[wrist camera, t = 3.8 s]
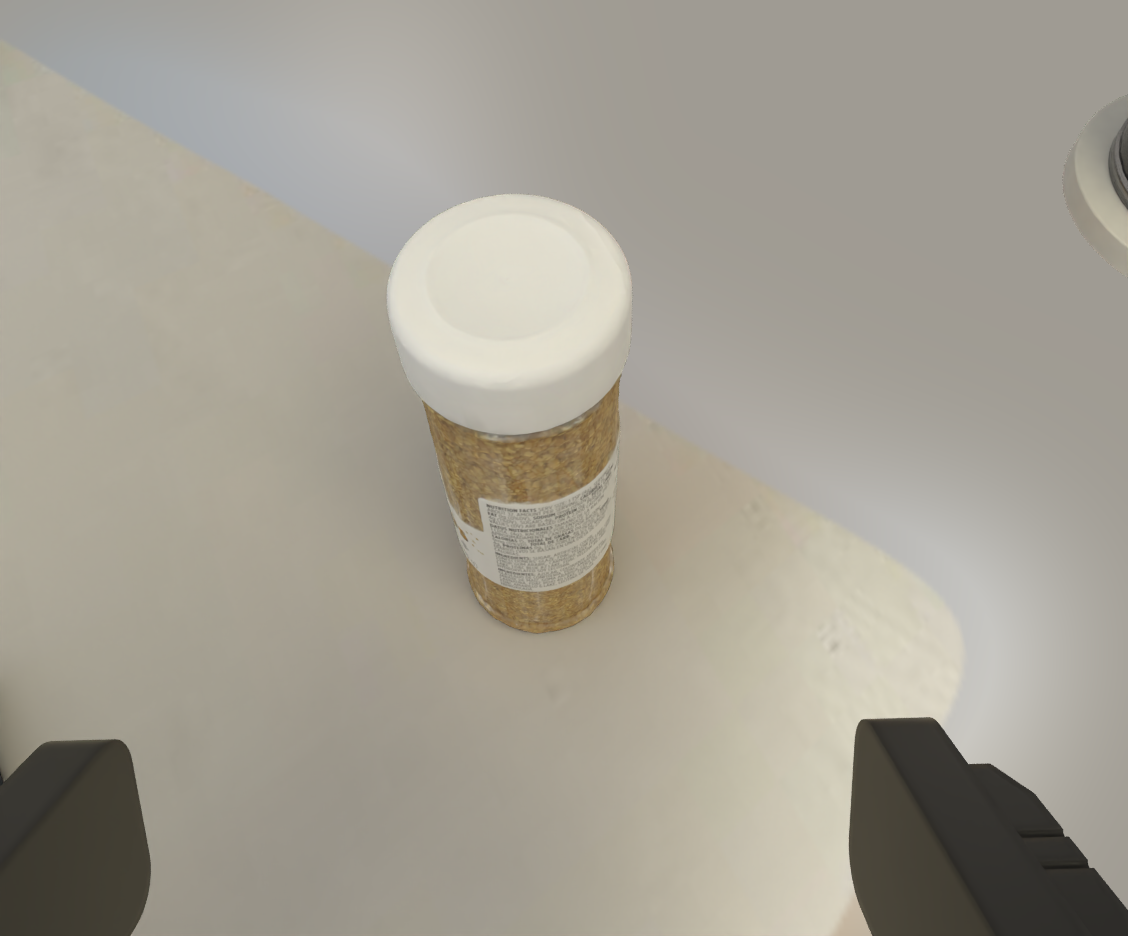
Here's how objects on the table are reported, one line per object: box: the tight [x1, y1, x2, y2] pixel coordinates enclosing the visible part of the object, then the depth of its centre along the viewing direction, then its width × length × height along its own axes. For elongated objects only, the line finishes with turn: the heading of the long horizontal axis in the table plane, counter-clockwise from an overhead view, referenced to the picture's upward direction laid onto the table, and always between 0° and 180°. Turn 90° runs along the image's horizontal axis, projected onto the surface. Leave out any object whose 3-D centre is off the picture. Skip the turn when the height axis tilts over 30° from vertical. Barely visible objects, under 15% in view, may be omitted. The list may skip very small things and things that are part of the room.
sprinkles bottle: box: [387, 194, 632, 633], centre depth 22 cm, size 5×5×13 cm
